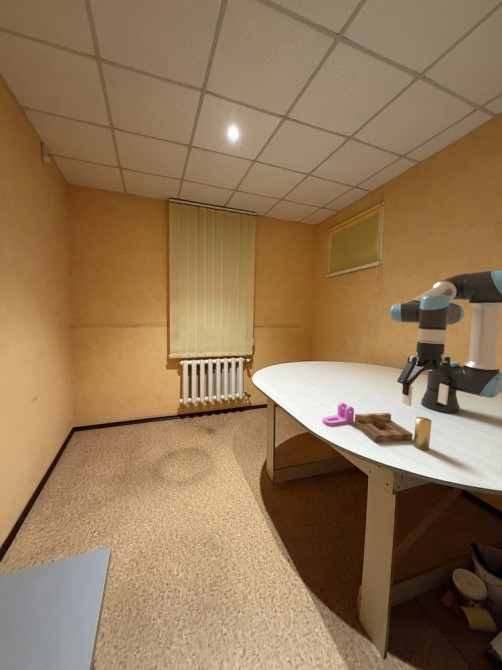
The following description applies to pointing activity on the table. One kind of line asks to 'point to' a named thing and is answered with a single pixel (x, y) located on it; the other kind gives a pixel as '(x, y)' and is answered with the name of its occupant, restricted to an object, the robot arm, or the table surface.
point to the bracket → (340, 416)
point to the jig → (377, 421)
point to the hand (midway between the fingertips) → (424, 403)
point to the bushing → (422, 433)
